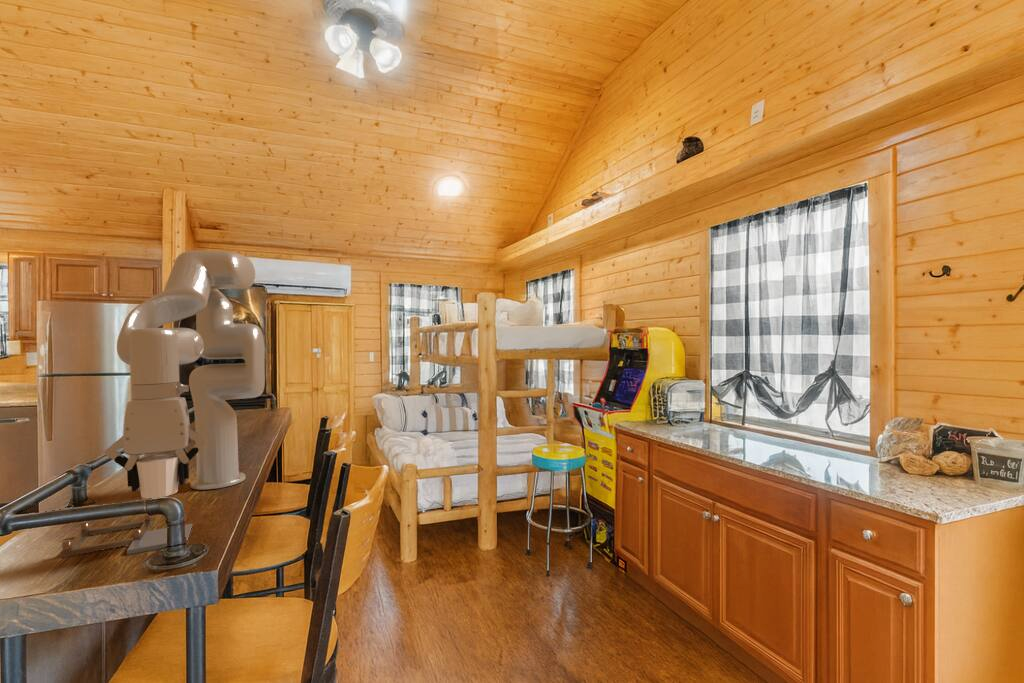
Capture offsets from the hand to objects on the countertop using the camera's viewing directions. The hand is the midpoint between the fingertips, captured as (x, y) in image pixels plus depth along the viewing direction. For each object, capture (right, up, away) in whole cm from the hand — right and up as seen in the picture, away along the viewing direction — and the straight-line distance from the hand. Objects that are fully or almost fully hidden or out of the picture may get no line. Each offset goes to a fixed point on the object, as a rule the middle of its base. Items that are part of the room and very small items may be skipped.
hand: (159, 485), depth 93 cm
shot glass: (0, -2, 0) cm, 2 cm away
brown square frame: (-10, -11, +1) cm, 15 cm away
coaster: (0, -11, 0) cm, 11 cm away
